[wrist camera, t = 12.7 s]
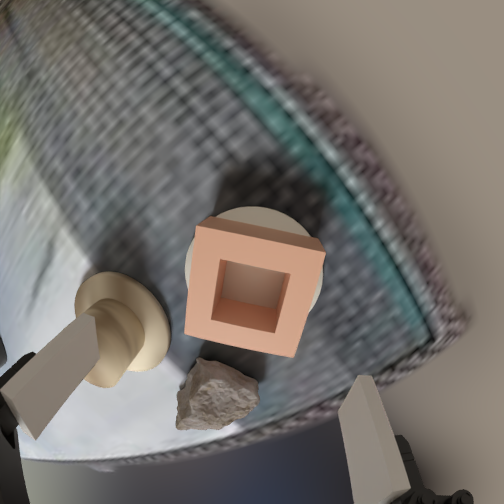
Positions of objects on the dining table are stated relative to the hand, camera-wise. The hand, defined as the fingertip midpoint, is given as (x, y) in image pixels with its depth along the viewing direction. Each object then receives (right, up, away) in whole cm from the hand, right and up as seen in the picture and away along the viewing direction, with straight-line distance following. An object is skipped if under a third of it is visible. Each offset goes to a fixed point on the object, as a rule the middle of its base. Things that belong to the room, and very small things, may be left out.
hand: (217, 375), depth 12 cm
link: (+2, +3, +12) cm, 12 cm away
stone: (-3, -9, +17) cm, 19 cm away
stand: (-13, -2, +16) cm, 20 cm away
